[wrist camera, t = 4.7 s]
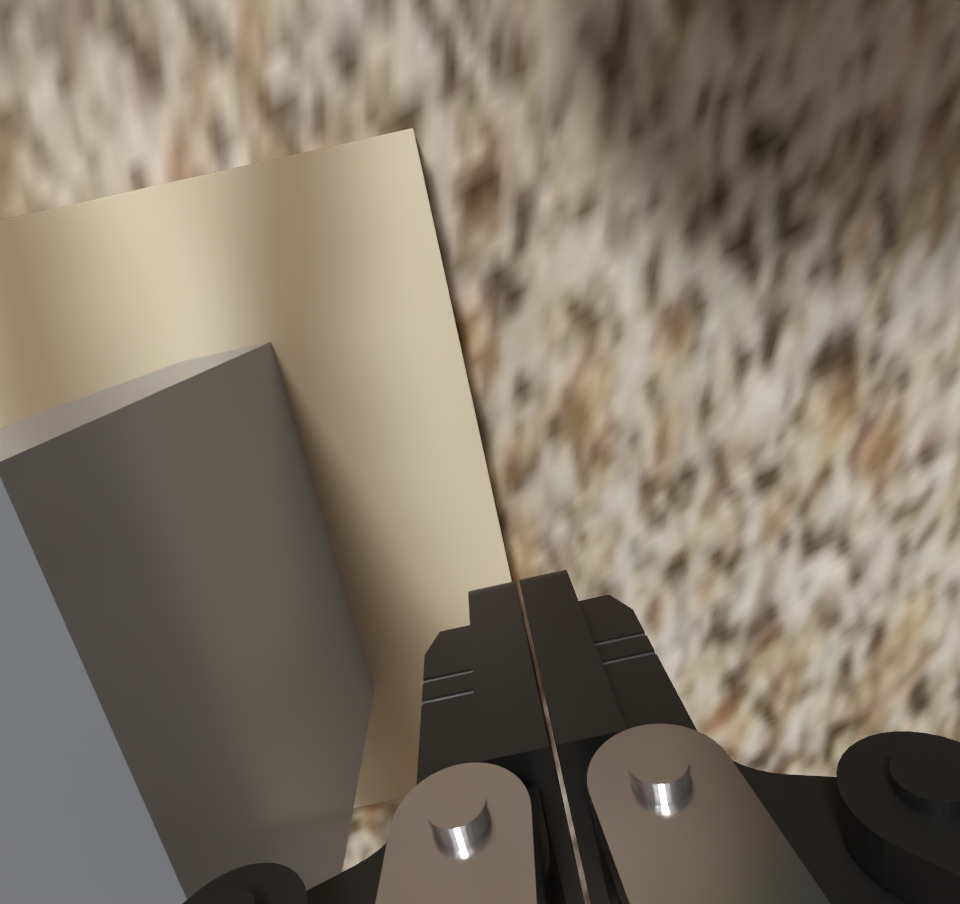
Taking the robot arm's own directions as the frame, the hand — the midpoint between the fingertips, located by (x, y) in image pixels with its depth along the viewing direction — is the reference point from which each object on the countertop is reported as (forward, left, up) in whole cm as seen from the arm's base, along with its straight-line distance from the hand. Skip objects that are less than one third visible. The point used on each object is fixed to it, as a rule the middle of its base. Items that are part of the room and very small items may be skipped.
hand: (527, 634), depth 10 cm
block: (+5, 0, -6) cm, 8 cm away
